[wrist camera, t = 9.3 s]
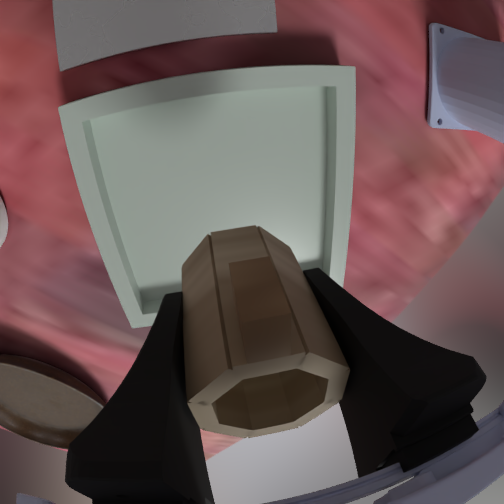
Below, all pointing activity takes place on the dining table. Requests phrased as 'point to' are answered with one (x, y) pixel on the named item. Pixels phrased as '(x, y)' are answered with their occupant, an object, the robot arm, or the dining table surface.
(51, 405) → the plant saucer
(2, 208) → the can
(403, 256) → the dining table surface
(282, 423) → the sleeve
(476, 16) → the dining table surface
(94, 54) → the square base plate
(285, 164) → the tray
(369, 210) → the dining table surface
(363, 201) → the dining table surface
